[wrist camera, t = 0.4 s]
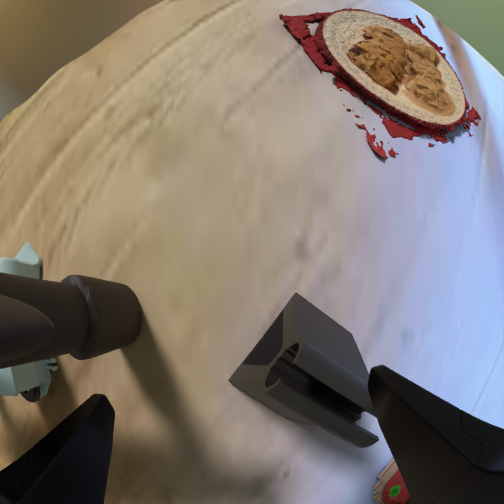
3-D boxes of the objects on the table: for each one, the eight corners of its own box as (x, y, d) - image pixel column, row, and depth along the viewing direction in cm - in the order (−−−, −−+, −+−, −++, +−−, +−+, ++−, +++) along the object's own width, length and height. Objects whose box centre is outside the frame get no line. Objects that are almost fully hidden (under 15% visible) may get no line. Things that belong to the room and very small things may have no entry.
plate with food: (276, 24, 30) (278, 5, 26) (407, 23, 32) (414, 11, 29) (371, 165, 27) (386, 150, 23) (491, 132, 29) (504, 123, 25)
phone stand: (285, 416, 21) (323, 499, 9) (227, 379, 22) (218, 448, 10) (350, 333, 23) (438, 352, 11) (295, 292, 23) (352, 280, 11)
